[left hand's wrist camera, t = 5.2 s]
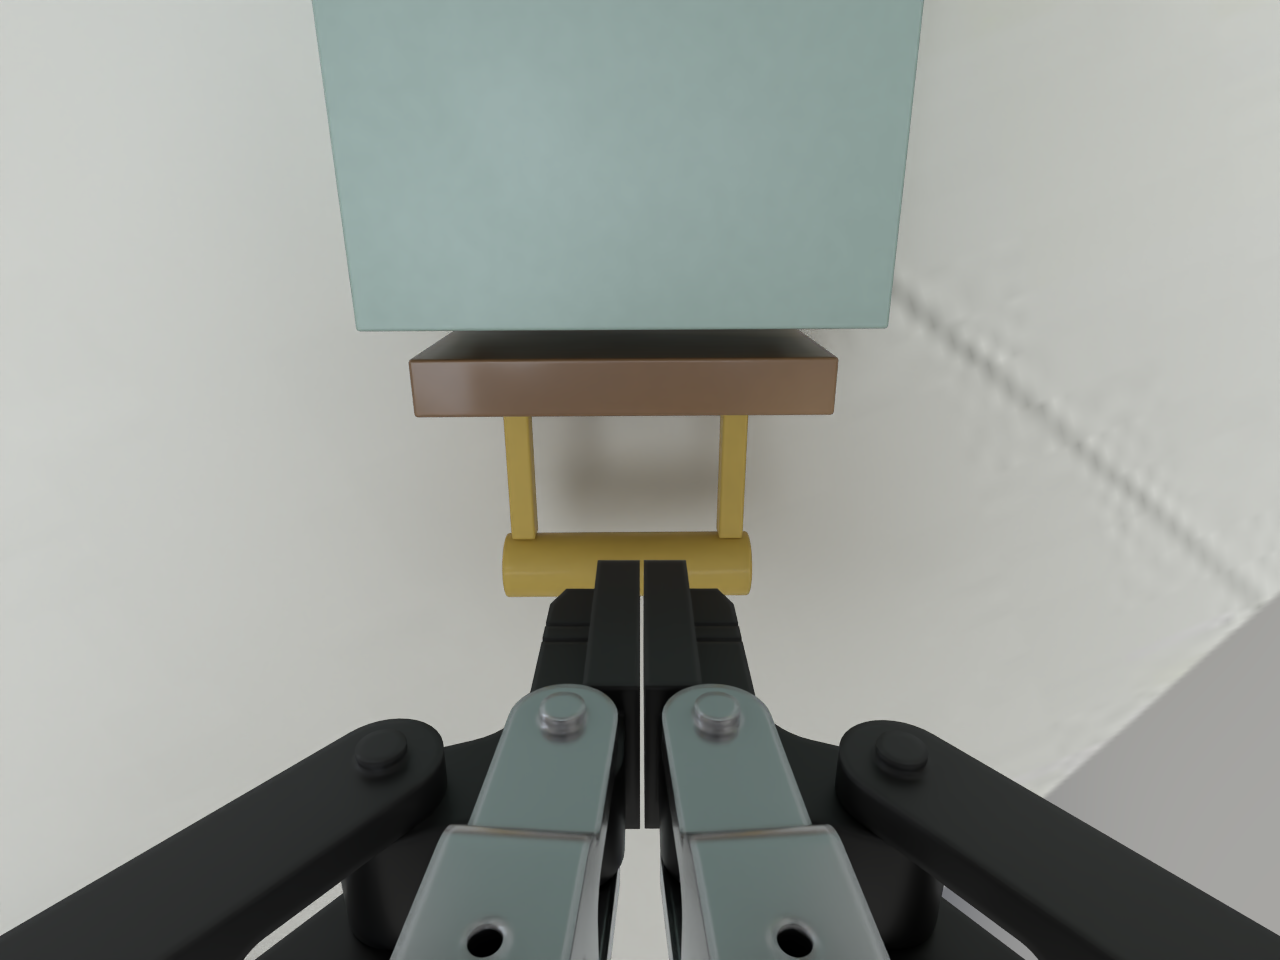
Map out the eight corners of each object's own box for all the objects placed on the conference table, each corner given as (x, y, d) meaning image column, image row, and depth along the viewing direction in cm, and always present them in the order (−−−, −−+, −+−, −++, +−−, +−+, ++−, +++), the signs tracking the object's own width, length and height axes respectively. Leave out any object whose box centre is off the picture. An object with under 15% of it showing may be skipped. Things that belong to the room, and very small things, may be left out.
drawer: (767, 531, 23) (813, 643, 17) (489, 534, 23) (439, 645, 17) (822, -376, 16) (937, -731, 10) (415, -376, 16) (283, -735, 10)
